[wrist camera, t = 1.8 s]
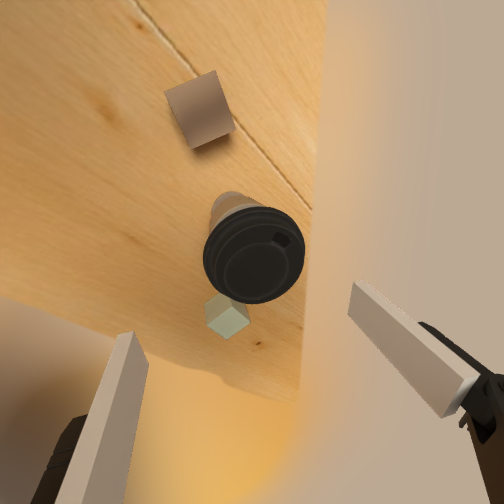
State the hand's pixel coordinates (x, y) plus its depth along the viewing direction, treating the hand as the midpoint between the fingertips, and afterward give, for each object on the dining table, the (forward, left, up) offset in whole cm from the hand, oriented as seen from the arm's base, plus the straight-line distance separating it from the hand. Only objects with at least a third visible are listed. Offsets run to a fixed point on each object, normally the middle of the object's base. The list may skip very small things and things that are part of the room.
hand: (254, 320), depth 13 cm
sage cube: (+16, -1, -21) cm, 26 cm away
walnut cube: (-12, 0, -21) cm, 24 cm away
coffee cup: (0, +2, -21) cm, 21 cm away
